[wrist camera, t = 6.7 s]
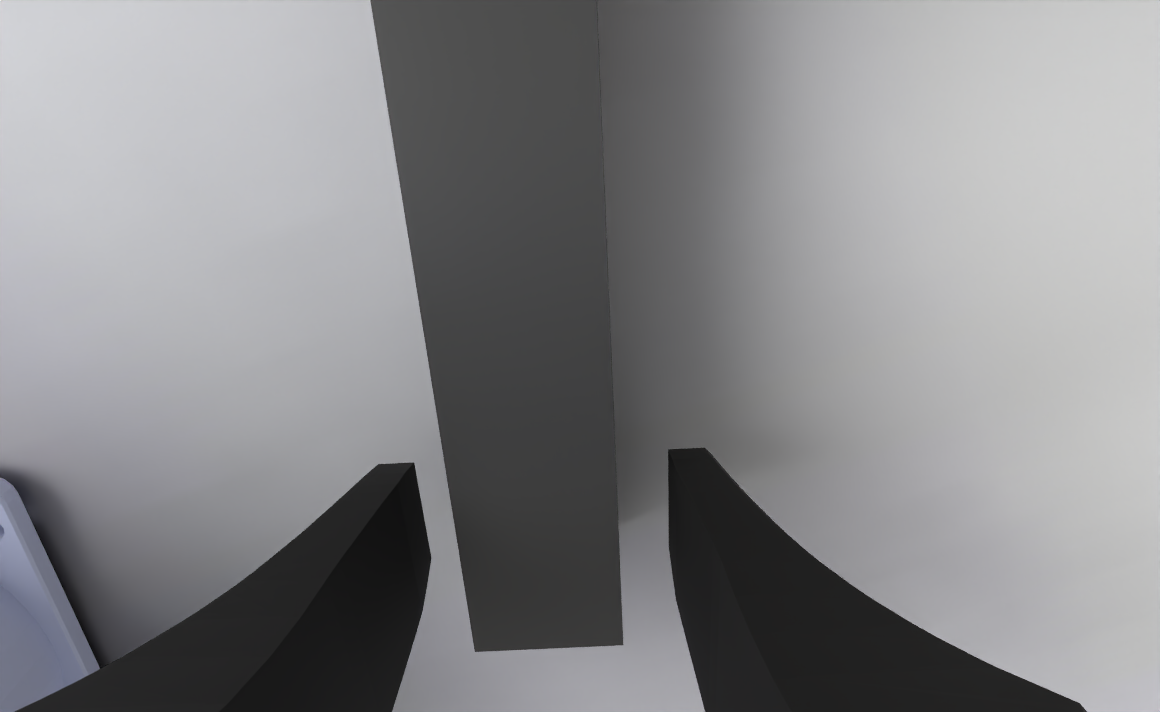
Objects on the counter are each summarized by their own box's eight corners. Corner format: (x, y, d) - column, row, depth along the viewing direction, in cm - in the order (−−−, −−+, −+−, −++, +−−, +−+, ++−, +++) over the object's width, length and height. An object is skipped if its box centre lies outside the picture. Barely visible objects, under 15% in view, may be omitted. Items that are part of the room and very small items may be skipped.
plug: (654, 525, 14) (677, 673, 11) (454, 534, 14) (417, 685, 11) (633, -821, 7) (683, -1558, 4) (241, -789, 7) (-42, -1485, 4)
